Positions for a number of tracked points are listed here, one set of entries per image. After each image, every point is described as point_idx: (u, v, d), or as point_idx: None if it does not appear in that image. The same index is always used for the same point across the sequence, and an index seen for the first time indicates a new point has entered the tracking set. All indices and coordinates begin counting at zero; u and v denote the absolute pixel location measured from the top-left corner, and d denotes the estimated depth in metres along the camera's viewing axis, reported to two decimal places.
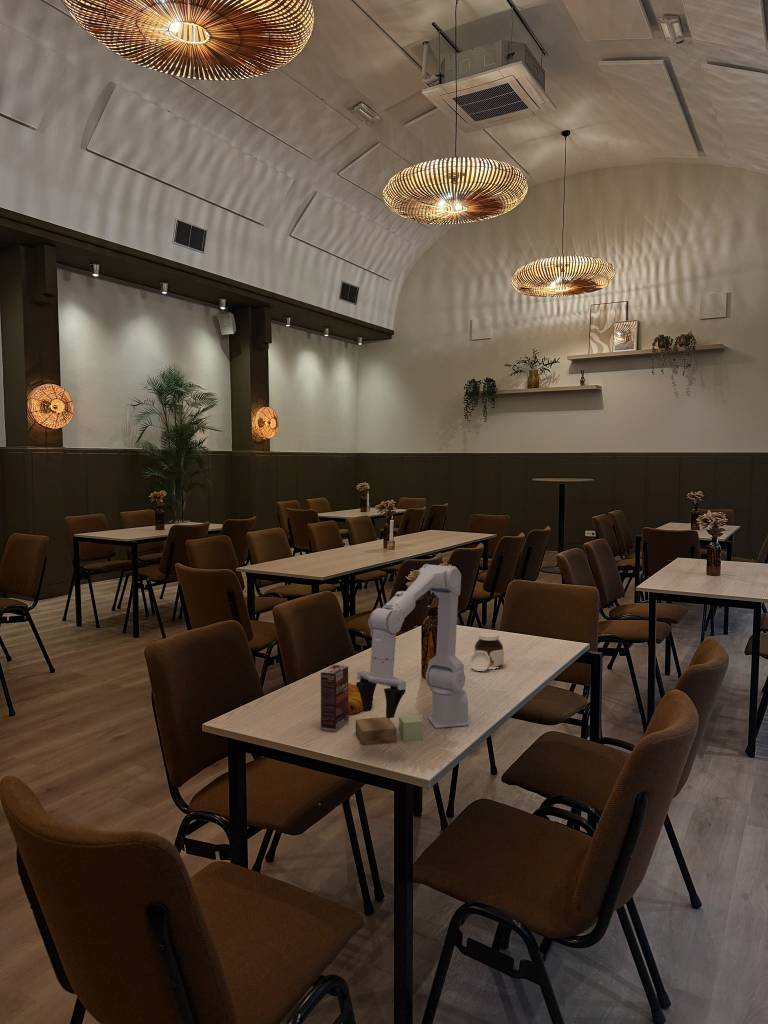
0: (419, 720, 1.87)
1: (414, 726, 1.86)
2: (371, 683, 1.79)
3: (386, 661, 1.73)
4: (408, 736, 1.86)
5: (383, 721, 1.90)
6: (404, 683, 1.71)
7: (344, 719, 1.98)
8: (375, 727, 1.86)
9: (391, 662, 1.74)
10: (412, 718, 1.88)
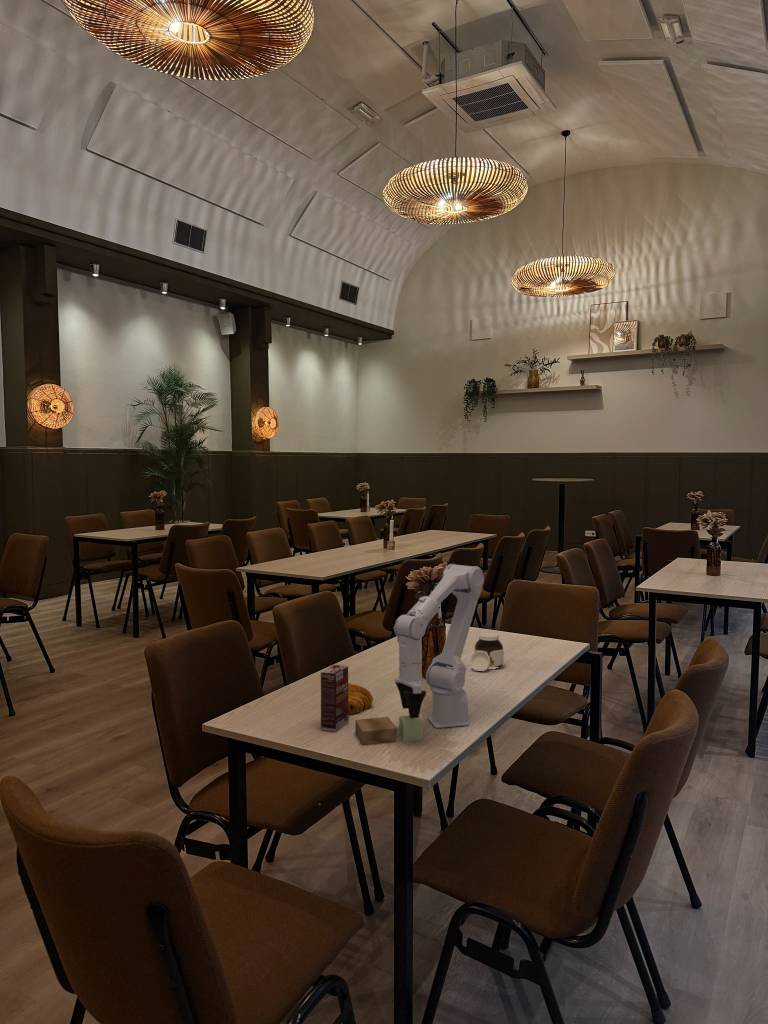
0: (419, 720, 1.87)
1: (414, 726, 1.86)
2: None
3: (407, 665, 1.85)
4: (408, 736, 1.86)
5: (383, 721, 1.90)
6: (418, 687, 1.81)
7: (344, 719, 1.98)
8: (375, 727, 1.86)
9: (413, 666, 1.85)
10: (412, 718, 1.88)
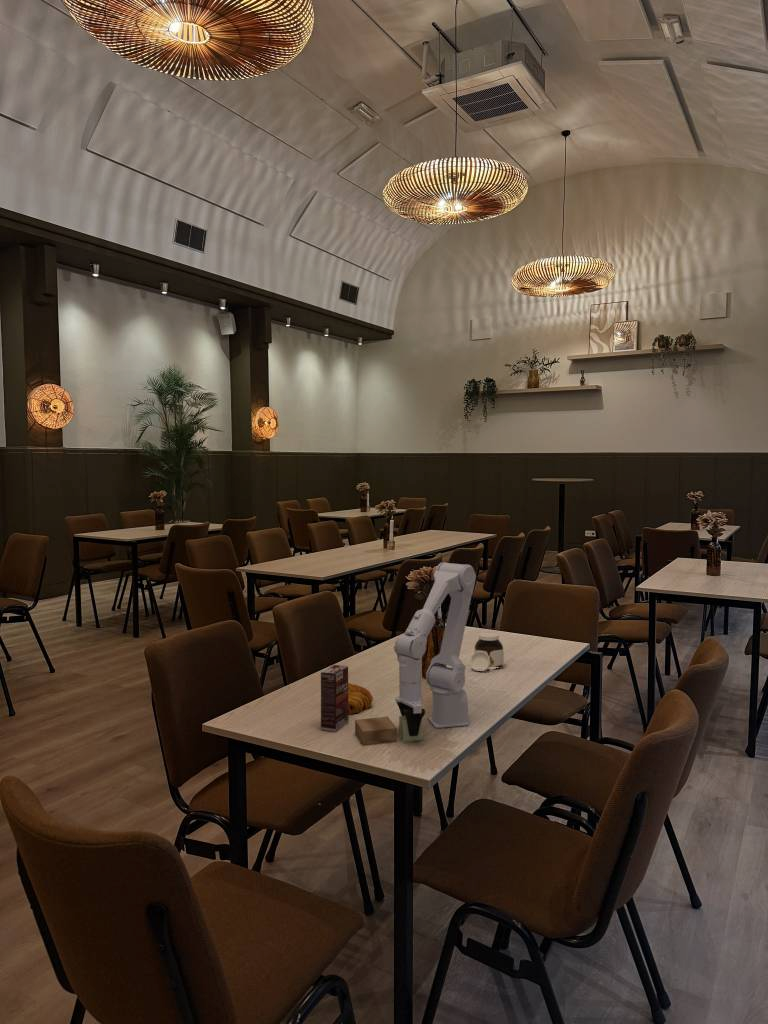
0: None
1: None
2: None
3: (407, 685, 1.85)
4: (408, 736, 1.86)
5: (382, 721, 1.90)
6: (418, 707, 1.81)
7: (344, 719, 1.98)
8: (375, 727, 1.86)
9: (413, 686, 1.85)
10: None
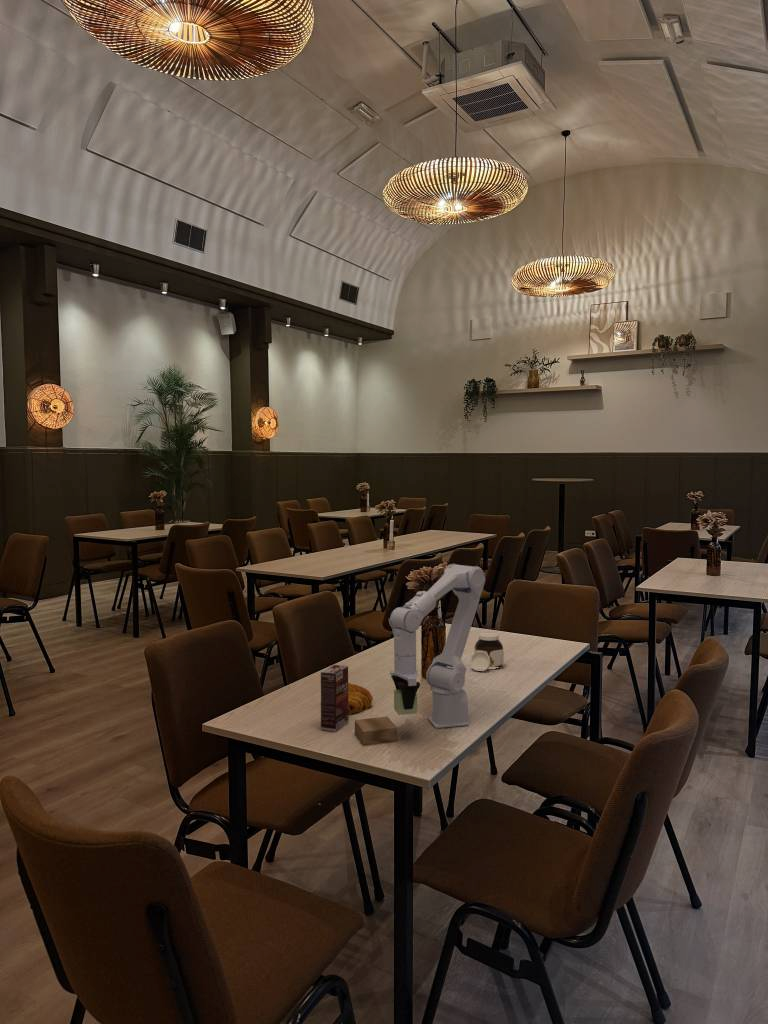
0: None
1: None
2: None
3: (402, 658, 1.85)
4: (403, 710, 1.85)
5: (382, 721, 1.90)
6: (413, 680, 1.80)
7: (344, 719, 1.98)
8: (375, 727, 1.86)
9: (408, 659, 1.84)
10: None
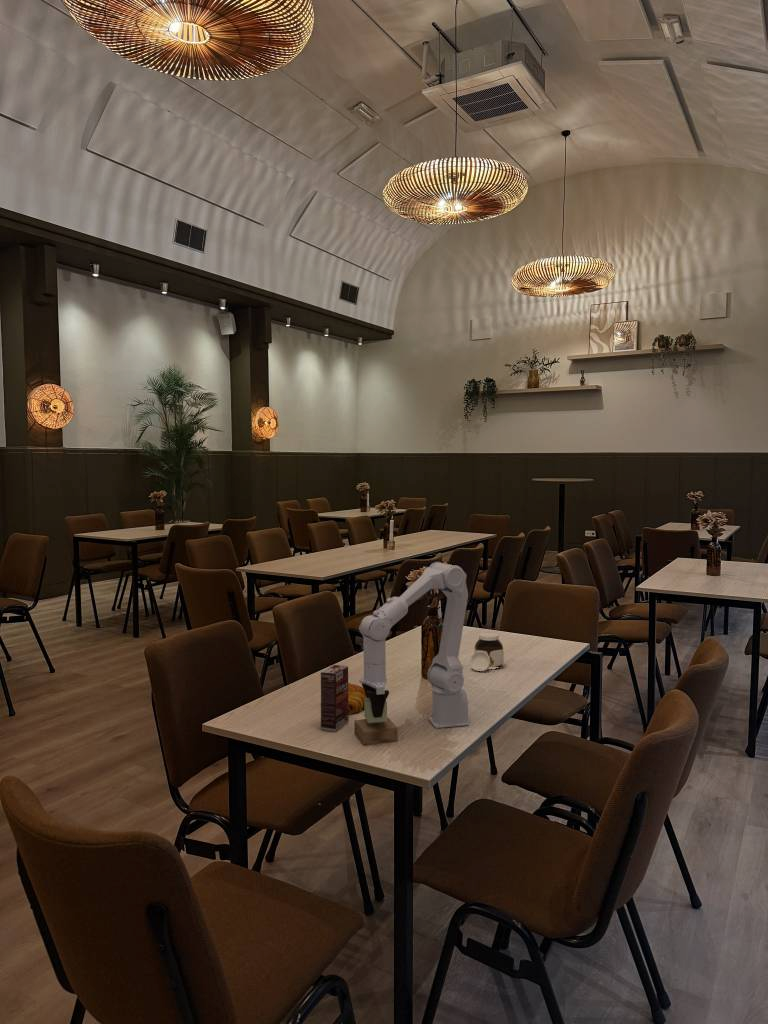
0: None
1: None
2: None
3: (371, 666, 1.85)
4: (372, 718, 1.86)
5: None
6: (382, 688, 1.81)
7: (344, 719, 1.98)
8: (375, 727, 1.86)
9: (377, 667, 1.85)
10: None
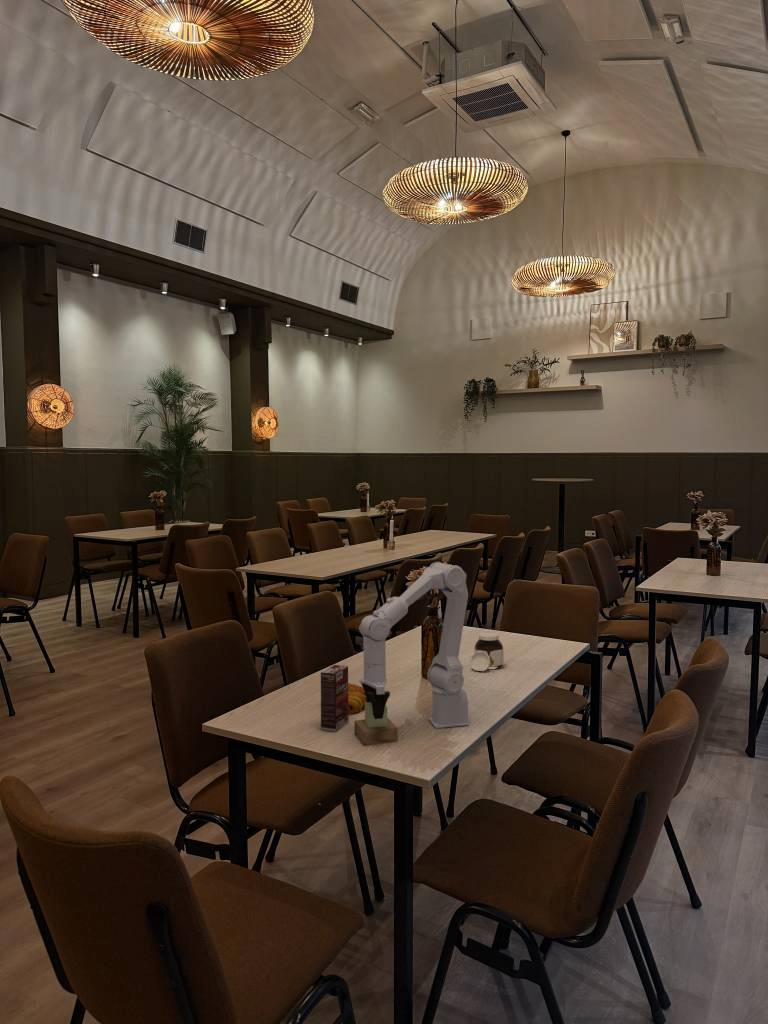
0: None
1: None
2: None
3: (371, 666, 1.85)
4: (373, 722, 1.86)
5: None
6: (382, 688, 1.81)
7: (344, 719, 1.98)
8: (375, 727, 1.86)
9: (377, 667, 1.85)
10: None
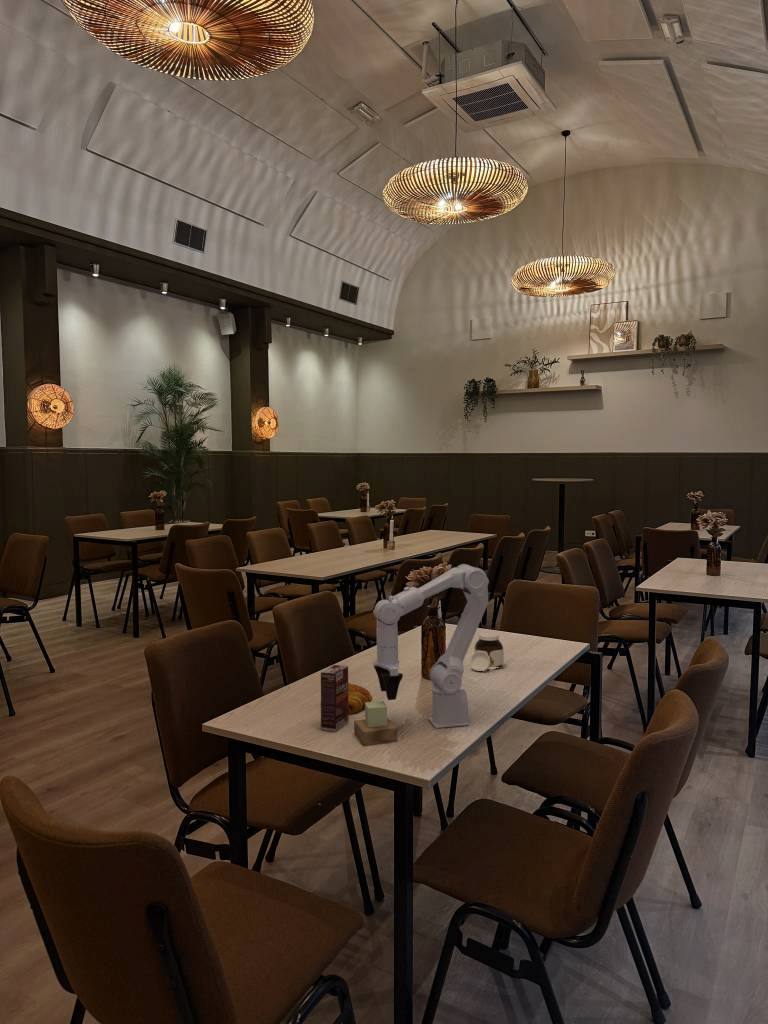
0: (384, 706, 1.87)
1: (378, 712, 1.86)
2: None
3: (384, 649, 1.91)
4: (372, 722, 1.86)
5: None
6: (395, 670, 1.87)
7: (344, 719, 1.98)
8: (375, 727, 1.86)
9: (390, 650, 1.91)
10: (377, 704, 1.88)
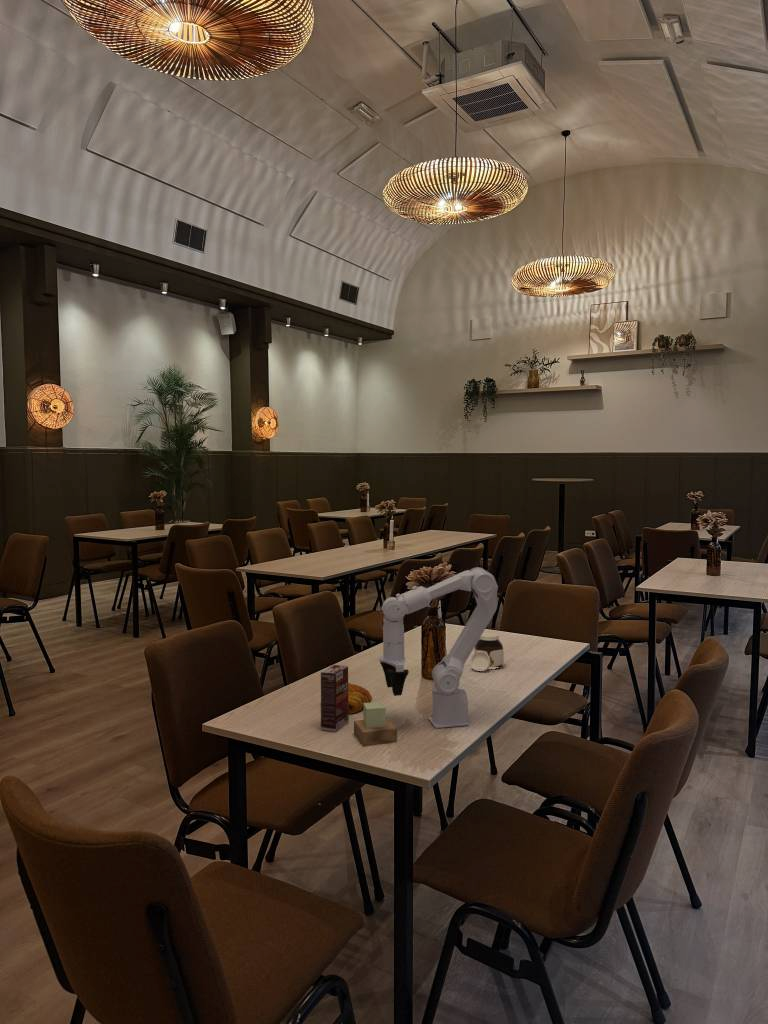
0: (382, 707, 1.87)
1: (377, 713, 1.86)
2: None
3: (391, 645, 1.94)
4: (371, 723, 1.85)
5: None
6: (401, 666, 1.90)
7: (344, 719, 1.98)
8: None
9: (396, 646, 1.94)
10: (376, 705, 1.88)
